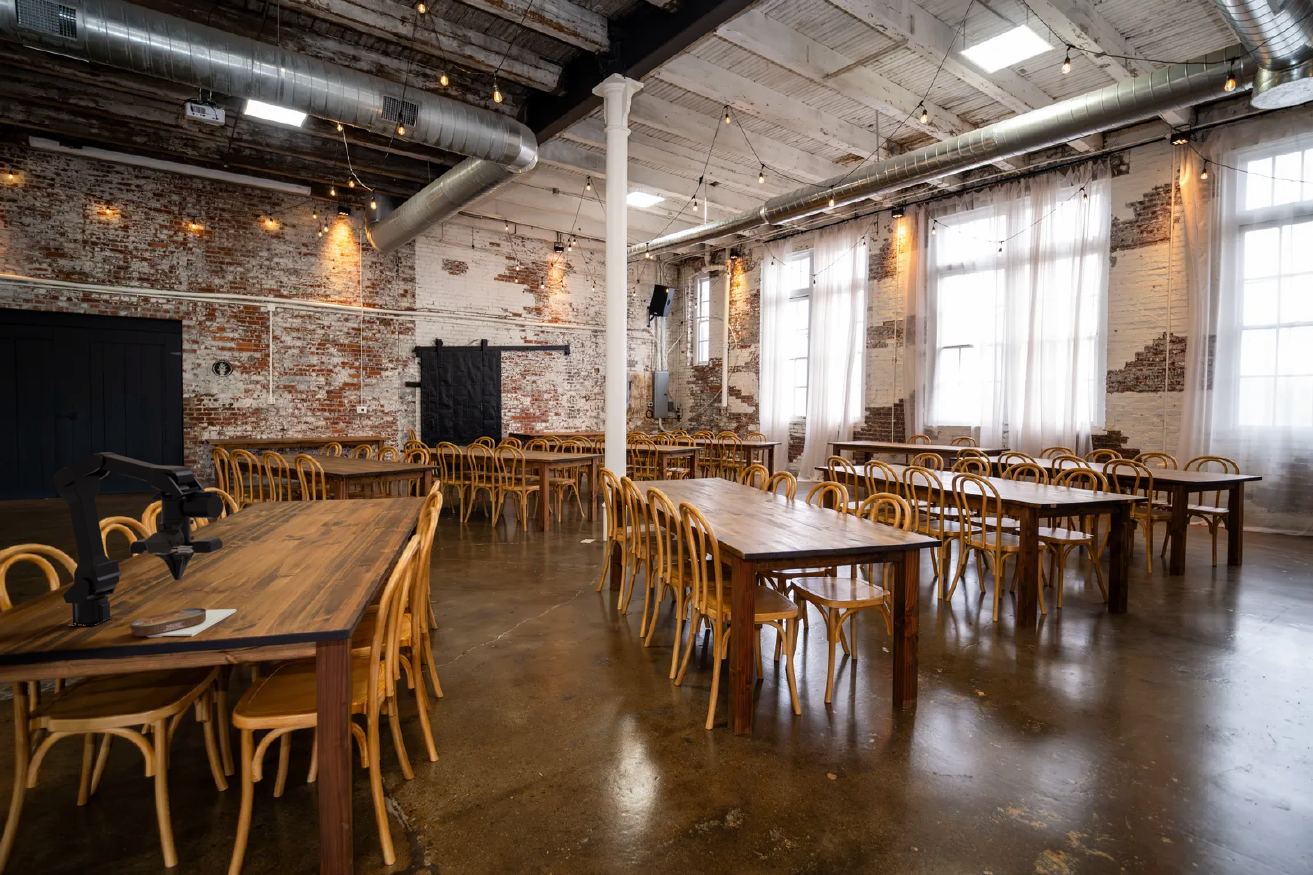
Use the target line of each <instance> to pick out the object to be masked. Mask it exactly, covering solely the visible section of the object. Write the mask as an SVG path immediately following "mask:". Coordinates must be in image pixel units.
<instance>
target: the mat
mask: <svg viewBox="0 0 1313 875" xmlns="http://www.w3.org/2000/svg"><path fill="white" fill-rule="evenodd" d="M205 610H206V620H205V621H204V622H203V623H201V624H198V625H195V626H192V627H188V628H183V629H179V630H174V631H170V632H165V633H160V634H156V635H150V636H146V638H147V637H149V638H163V637H162V636H192V637H194V636H195V635H197V634H199V633H201V632H202V631H204V630H206V629H208V628H210V627H212V626H213V625H214V624H215V625H216V624H217V623H218V622H220V621H222V620H224V619H226V618H227V617H229V616H230V615H233V614H234V613H236V612H237V608H234V609H233V608H232V609H231V608H229V609H224V608H223V609H222V608H221V609H205Z"/></svg>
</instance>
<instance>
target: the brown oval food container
mask: <svg viewBox="0 0 1313 875" xmlns="http://www.w3.org/2000/svg"><path fill="white" fill-rule="evenodd" d="M206 610H207V609H205V608H201V607H193V608H192V607H191V608H190V607H189V608H185V609H178V610H173V611H169V612H164V613H159V614H154V615H149V616H145V617H144V616H143V617H141V618H137V619H135V620H133V621H131V622H130V624H129V625H130V633H131V635H133V636H135V637H147V636H150V635H156V634H160V633H165V632H170V631H174V630H179V629H183V628H188V627H192V626H195V625H198V624H201V623H203V622H204V621H205V620H206Z"/></svg>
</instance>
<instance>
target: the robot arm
mask: <svg viewBox="0 0 1313 875" xmlns="http://www.w3.org/2000/svg"><path fill="white" fill-rule="evenodd" d="M109 473H113V474H118V475H122V476H126V477H129V478H134V479H136V480H137V479H138V480H140V481H144V482H147V483H148V484H149V486H150V487H152V488H155V489H157V490H159V491H158V492H157V493H156V494H155V495H154V496H152V498H151V500H153V501H161V502H160V503H161V522H160V523H158V525H157V530H156V532H154V533H153V534H151V535H149V536H148V537H146V538H142V539H138V540H134V541H132V542H131V544H130V545H129V546H128V547H129V549H128V550H129V555H133V554H135V555H136V554H137V555H138V554H139V555H141V554H144V553H145V552H146V551H147V554H154V557H155V558H160V559H162V560H163V561H164V562H165V564H166V565H167V567H168V569H169V572H170V574H171V576H172V578H173V580H174V581H180V580H181V579H182V577H183V575H184V573H185V571H186V569H187V566H188V564H190V563H189V562H190V561H191V559H192V558H193V556H194V555H195V554H207V553H212V552H216V551H218V550H221V549H223V541H222V540H221V538H220V537H202V538H200V539H198V540H195V535H191V526H192V525H194V523H195V522H194V519H217V518H219V517H220V516H221V515H222V513H223V512H224V504H225V503H224V502H223V499H222V498H221V496H220V495H218V491H217V490H209V491H208V490H207V491H206V490H205V488H203V486H202V485H201V484H200V482H199V480H198V479H197V478H196V476H195V475H194V473H193V471H192V469H191V468H190V467H188V466H183V465H182V466H181V465H159V464H155V463H150V462H147V461H142V460H139V459H136V458H135V459H134V458H133V457H132V458H130V457H127V456H123V455H119V454H116V453H115V452H96V453H94V454H91V455H90V456H89V457H87V458H86V459H83V460H80V461H78V462H76V463H73V464H71V465H68V466H67V467H62V468H60V469H58V470H57V471H56V473H55V474H54V475H53V483H54V486H55V489H56V492H57V495H58V496H60V497H61V498H62V499H63V500H64V501H65V502H66V503H67V504H68V507H69V512H70V513H69V514H70V518H71V523H72V528H73V533H74V539H75V544H76V549H77V555H78V558H79V559H78V563H77V565H76V567H75V570H74V572H73V584H72V585H71V587H69V588H68V589H67V590H66V592H64V593H63V595H62V597H63V599H64V602H65V603H66V604H71V609H72V610H71V612H72V613H71V614H72V615H71V616H72V617H71V618H72V622H70V623H71V625H75V624H74V623H76V625H78V624H82V625H83V624H84V625H95V624H98V623H101V624H103V623H105V622H107V621H109V620H108V619H110V618H112V619H114V616H113V615H111V609H110V608H111V604H110V601H109V595H114V592H115V590H116V586H117V585H118V584H119V583H120V577H121V576H122V573H121V571H120V568H119V566H120V565H119V562H118V560H116V559H115V560H111V559H110V558H109V557H108V556H107V555H106V551H105V546H104V542H103V536H102V532H101V526H100V521H99V516H98V515H99V514H98V511H97V505H96V498H97V497H98V496H97V495H98V494H99V491H100V489H101V480H102V479H103V478H105V477H107V476H108V475H109ZM194 540H195V541H194ZM106 620H107V621H106ZM110 620H111V619H110ZM104 621H105V622H104ZM102 622H103V623H102ZM70 623H68V624H67V626H68V625H69V624H70ZM98 625H99V624H98Z"/></svg>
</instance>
